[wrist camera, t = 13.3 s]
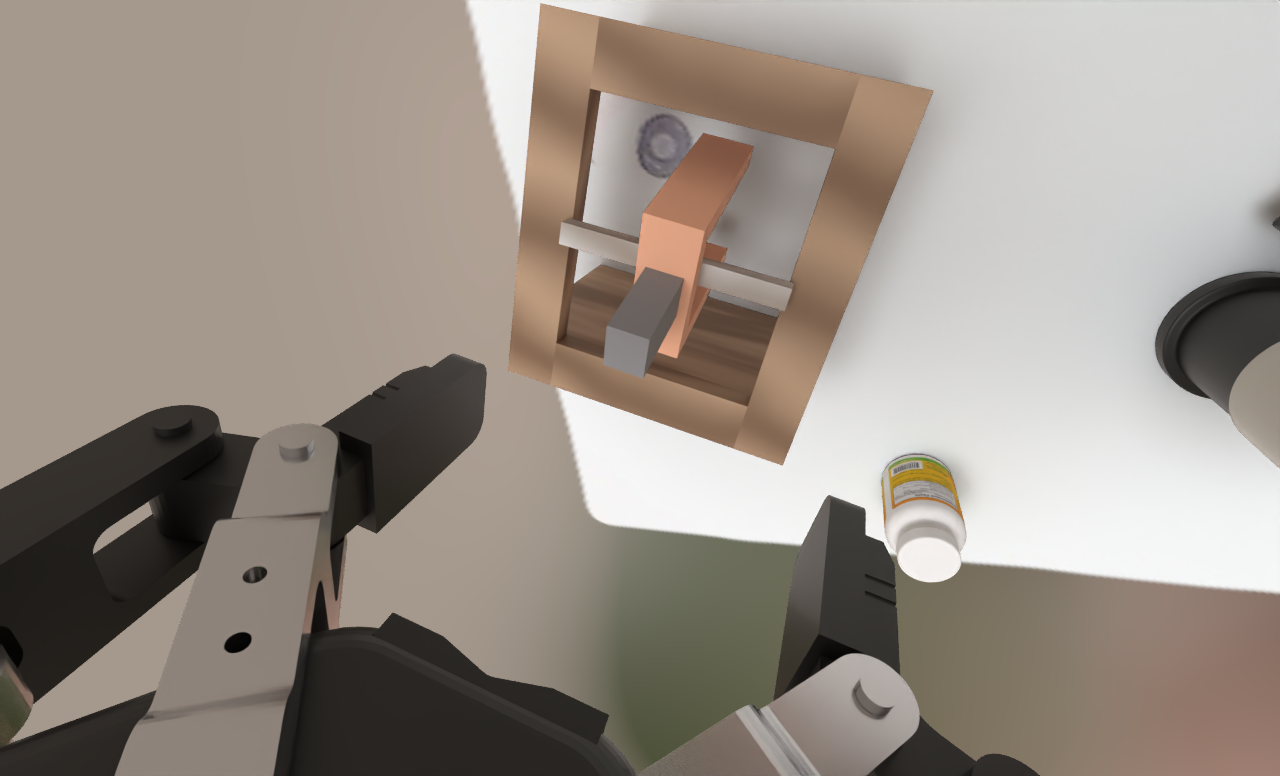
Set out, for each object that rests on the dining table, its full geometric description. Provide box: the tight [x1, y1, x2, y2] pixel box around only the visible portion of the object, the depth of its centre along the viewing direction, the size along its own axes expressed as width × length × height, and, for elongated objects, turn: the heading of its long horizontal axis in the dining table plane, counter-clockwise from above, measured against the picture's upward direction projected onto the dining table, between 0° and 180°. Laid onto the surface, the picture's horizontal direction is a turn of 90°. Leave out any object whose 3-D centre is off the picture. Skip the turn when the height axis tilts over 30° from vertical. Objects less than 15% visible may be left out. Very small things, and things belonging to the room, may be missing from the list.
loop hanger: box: [603, 133, 753, 378], centre depth 31 cm, size 8×3×15 cm, turn 168°
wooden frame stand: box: [508, 3, 933, 465], centre depth 37 cm, size 20×18×16 cm
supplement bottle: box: [881, 455, 966, 582], centre depth 44 cm, size 5×5×10 cm
